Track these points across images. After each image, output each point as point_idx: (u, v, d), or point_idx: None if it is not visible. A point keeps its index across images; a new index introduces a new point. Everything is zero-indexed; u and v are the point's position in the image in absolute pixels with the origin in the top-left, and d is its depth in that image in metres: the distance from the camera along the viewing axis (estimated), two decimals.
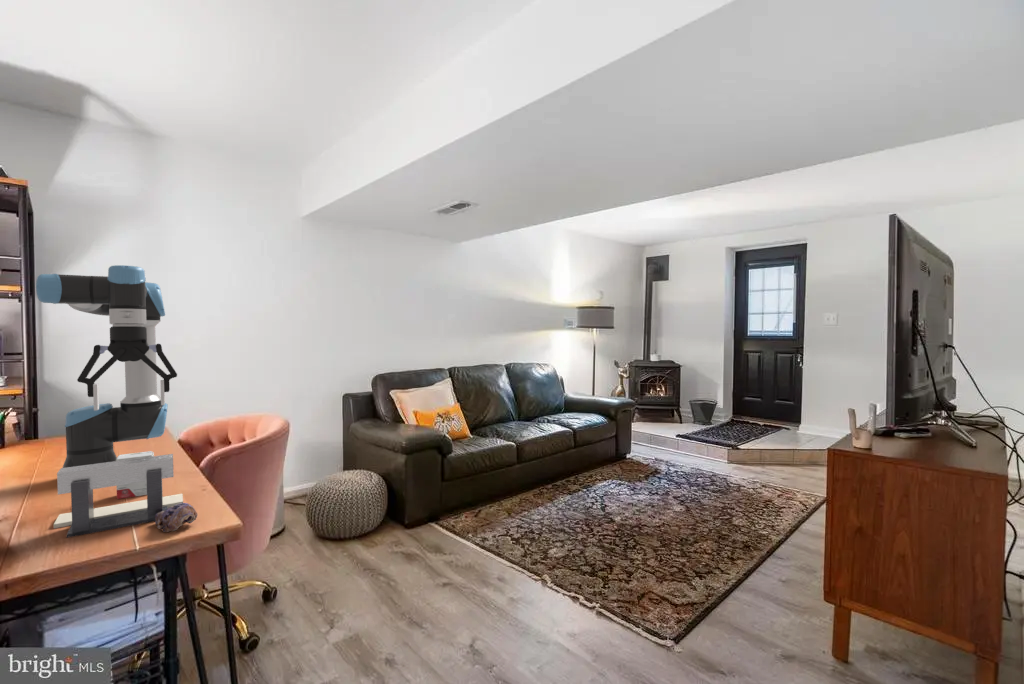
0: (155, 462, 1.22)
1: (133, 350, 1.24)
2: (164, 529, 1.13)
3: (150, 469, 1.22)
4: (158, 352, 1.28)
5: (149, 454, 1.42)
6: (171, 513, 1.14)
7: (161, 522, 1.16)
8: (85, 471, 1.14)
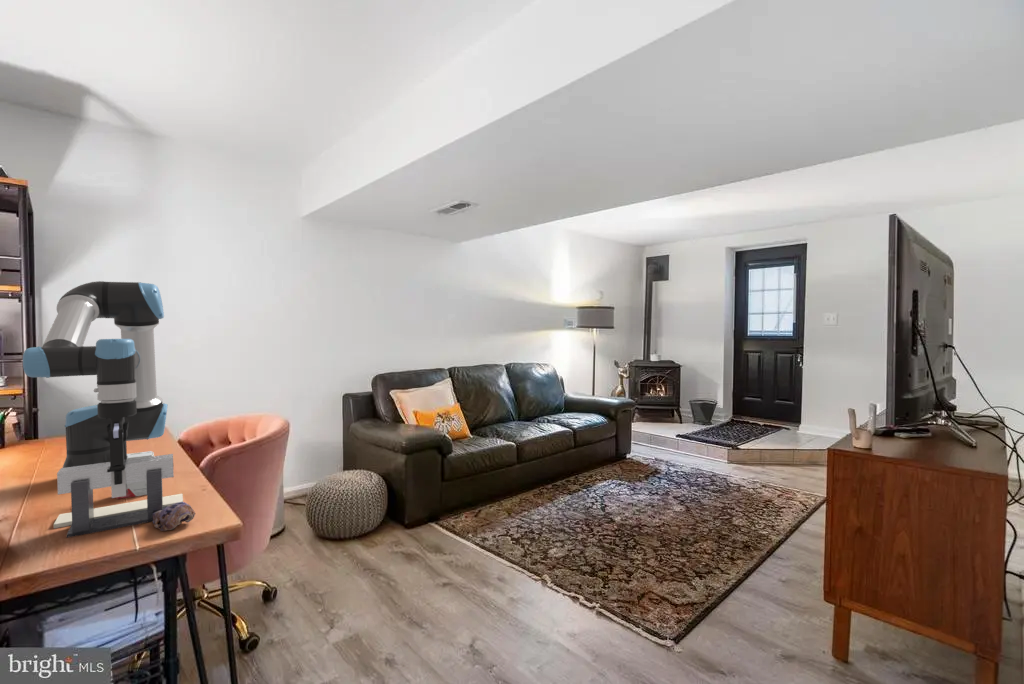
0: (155, 462, 1.22)
1: (107, 427, 1.18)
2: (162, 528, 1.14)
3: (150, 469, 1.22)
4: (109, 438, 1.15)
5: (149, 454, 1.42)
6: (169, 512, 1.14)
7: (159, 521, 1.17)
8: (85, 471, 1.14)
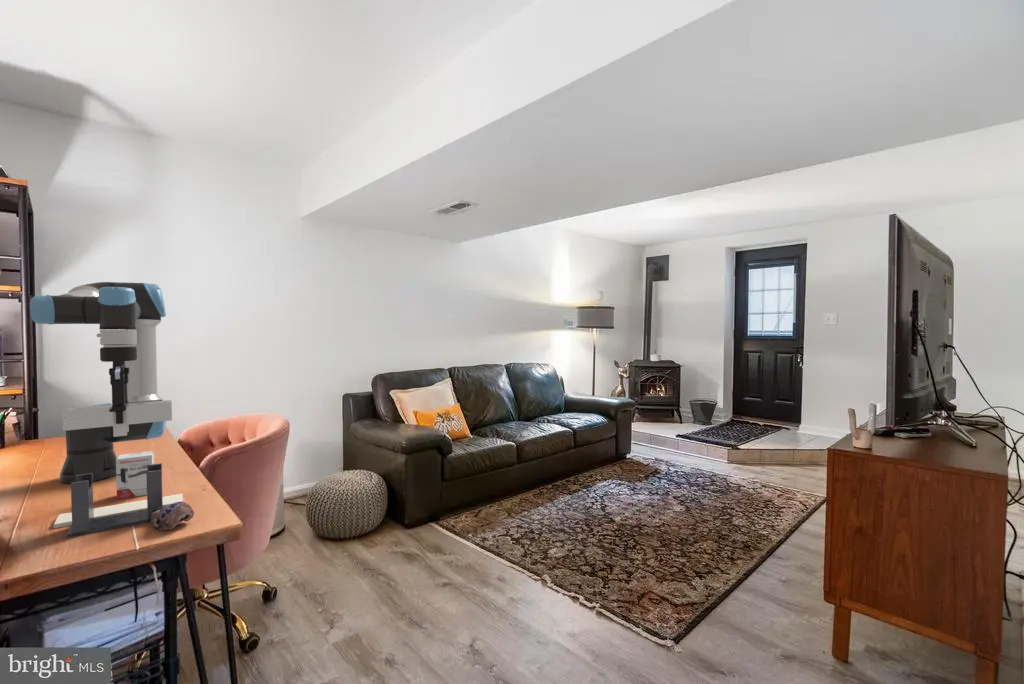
0: (155, 405, 1.29)
1: (109, 370, 1.25)
2: (162, 527, 1.14)
3: (150, 412, 1.28)
4: (111, 379, 1.22)
5: (149, 454, 1.42)
6: (169, 511, 1.15)
7: (157, 521, 1.17)
8: (88, 410, 1.21)
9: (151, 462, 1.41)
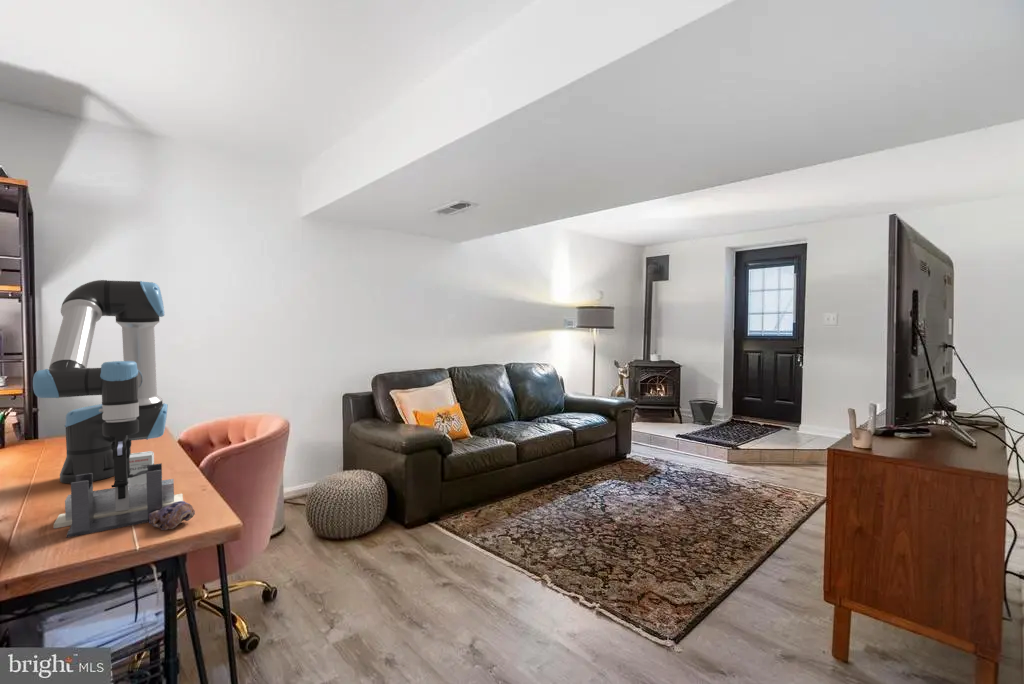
0: None
1: None
2: (163, 527, 1.14)
3: None
4: (114, 455, 1.22)
5: (149, 454, 1.42)
6: (170, 511, 1.15)
7: (157, 521, 1.17)
8: None
9: (151, 462, 1.41)
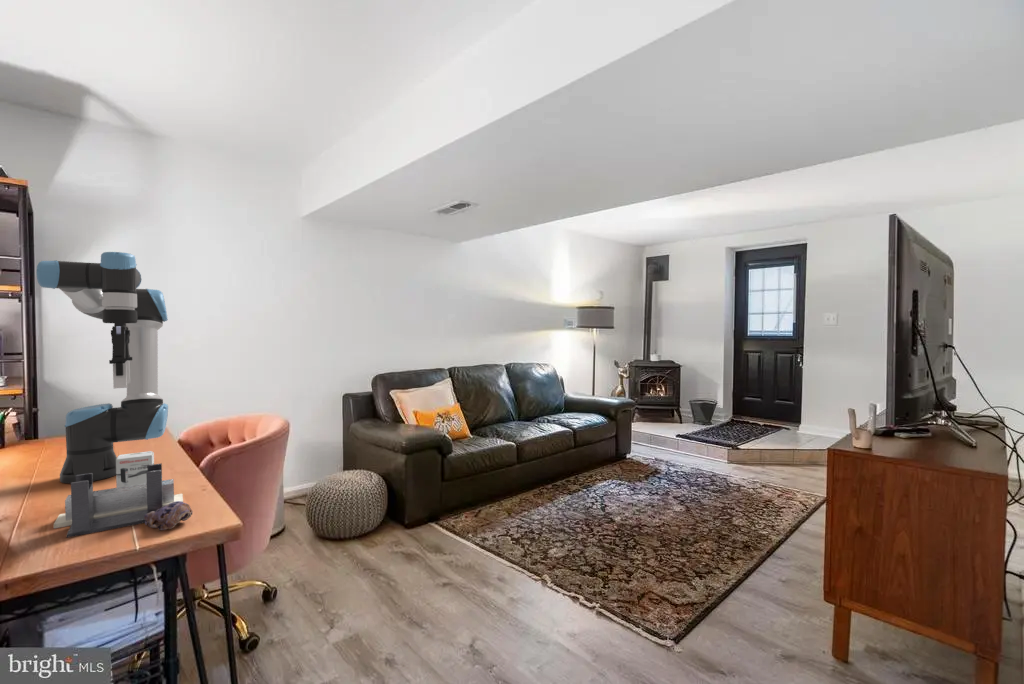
0: None
1: (111, 332, 1.31)
2: (161, 527, 1.14)
3: None
4: (113, 335, 1.27)
5: (149, 454, 1.42)
6: (169, 511, 1.15)
7: (154, 521, 1.17)
8: None
9: (151, 462, 1.41)
